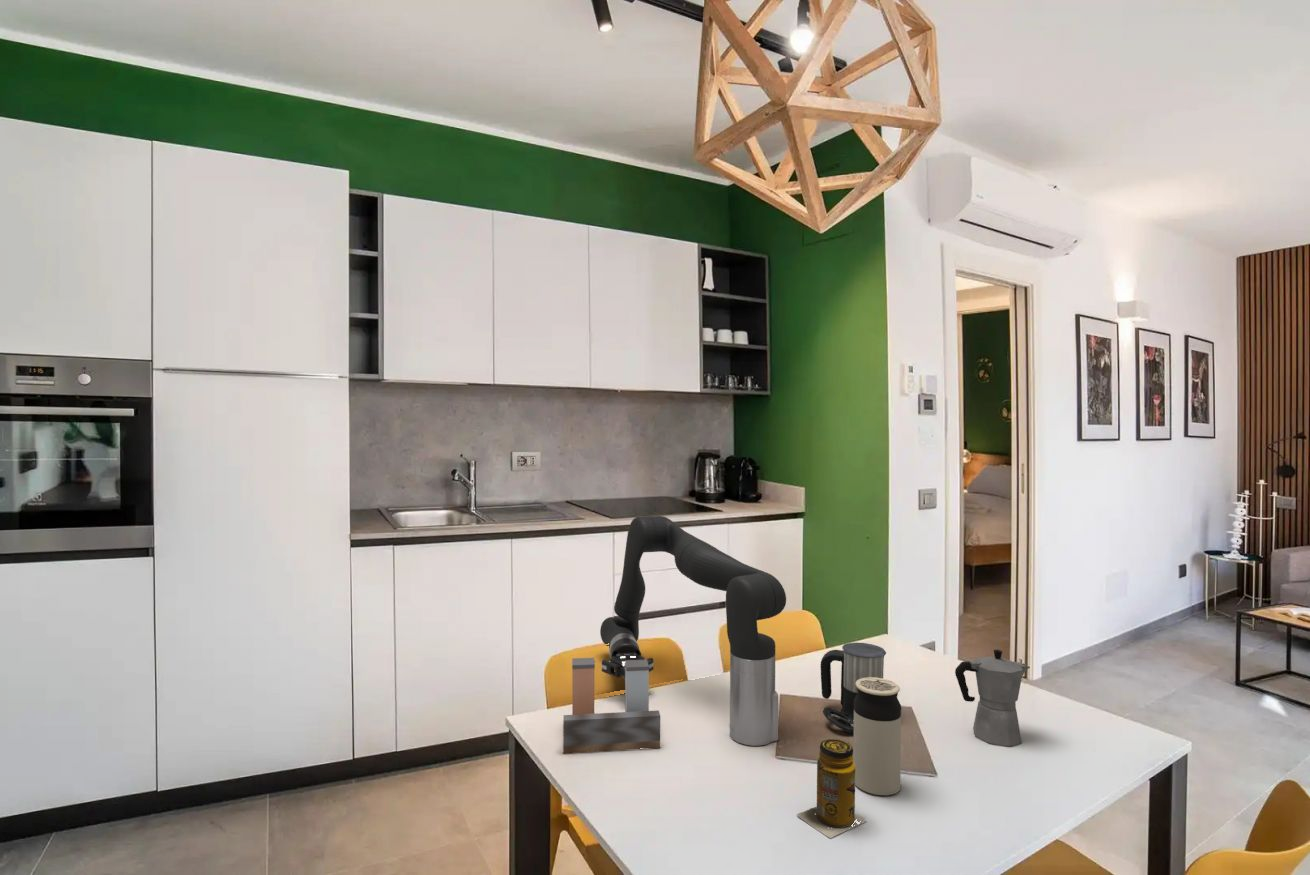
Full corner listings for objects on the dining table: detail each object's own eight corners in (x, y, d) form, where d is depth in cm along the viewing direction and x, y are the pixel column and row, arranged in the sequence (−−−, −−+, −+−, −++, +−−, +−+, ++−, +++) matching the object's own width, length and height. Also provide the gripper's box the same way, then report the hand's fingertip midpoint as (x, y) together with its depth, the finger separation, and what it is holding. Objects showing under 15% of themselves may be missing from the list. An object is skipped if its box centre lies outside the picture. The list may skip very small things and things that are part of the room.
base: (651, 717, 148) (651, 688, 148) (660, 748, 134) (660, 715, 134) (564, 722, 145) (564, 692, 145) (563, 753, 131) (563, 720, 131)
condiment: (866, 821, 109) (867, 748, 109) (830, 839, 105) (831, 762, 104) (831, 800, 115) (832, 731, 115) (796, 816, 111) (796, 744, 111)
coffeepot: (1015, 726, 144) (1016, 642, 144) (1042, 747, 135) (1043, 657, 135) (944, 727, 144) (945, 642, 143) (966, 748, 134) (967, 658, 134)
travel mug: (894, 802, 115) (895, 697, 115) (847, 788, 119) (848, 687, 119) (904, 781, 122) (905, 682, 121) (860, 769, 126) (860, 673, 126)
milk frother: (880, 707, 154) (880, 642, 153) (896, 739, 138) (897, 667, 138) (816, 704, 155) (816, 640, 155) (825, 735, 140) (826, 664, 139)
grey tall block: (646, 719, 143) (646, 659, 142) (648, 728, 139) (649, 666, 138) (624, 720, 142) (625, 660, 142) (626, 729, 138) (626, 667, 138)
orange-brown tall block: (593, 717, 144) (594, 657, 143) (594, 725, 140) (594, 664, 139) (572, 718, 143) (572, 658, 143) (572, 727, 139) (572, 665, 139)
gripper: (598, 638, 168) (601, 663, 150) (651, 636, 169) (660, 661, 152) (598, 668, 168) (601, 697, 151) (650, 666, 169) (660, 694, 152)
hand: (631, 679), depth 151 cm, fingers closed
